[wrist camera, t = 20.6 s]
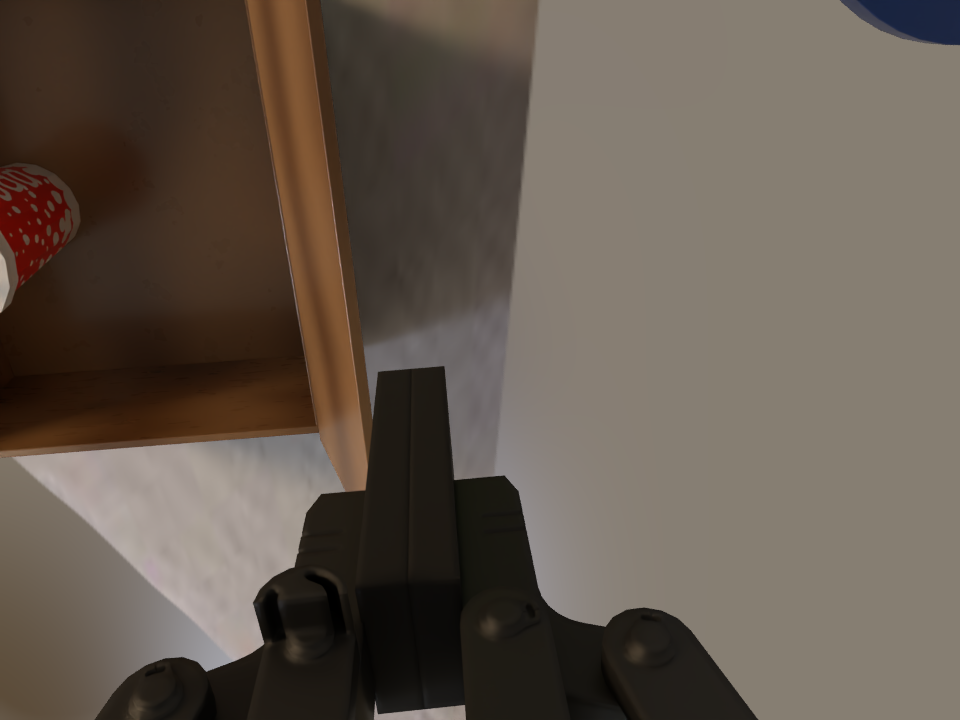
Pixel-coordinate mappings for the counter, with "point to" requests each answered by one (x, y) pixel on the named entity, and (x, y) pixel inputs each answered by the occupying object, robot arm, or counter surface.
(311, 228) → the flap
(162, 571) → the counter surface
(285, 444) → the counter surface
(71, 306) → the brown open-topped box
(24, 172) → the beverage cup
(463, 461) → the counter surface
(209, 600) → the counter surface
